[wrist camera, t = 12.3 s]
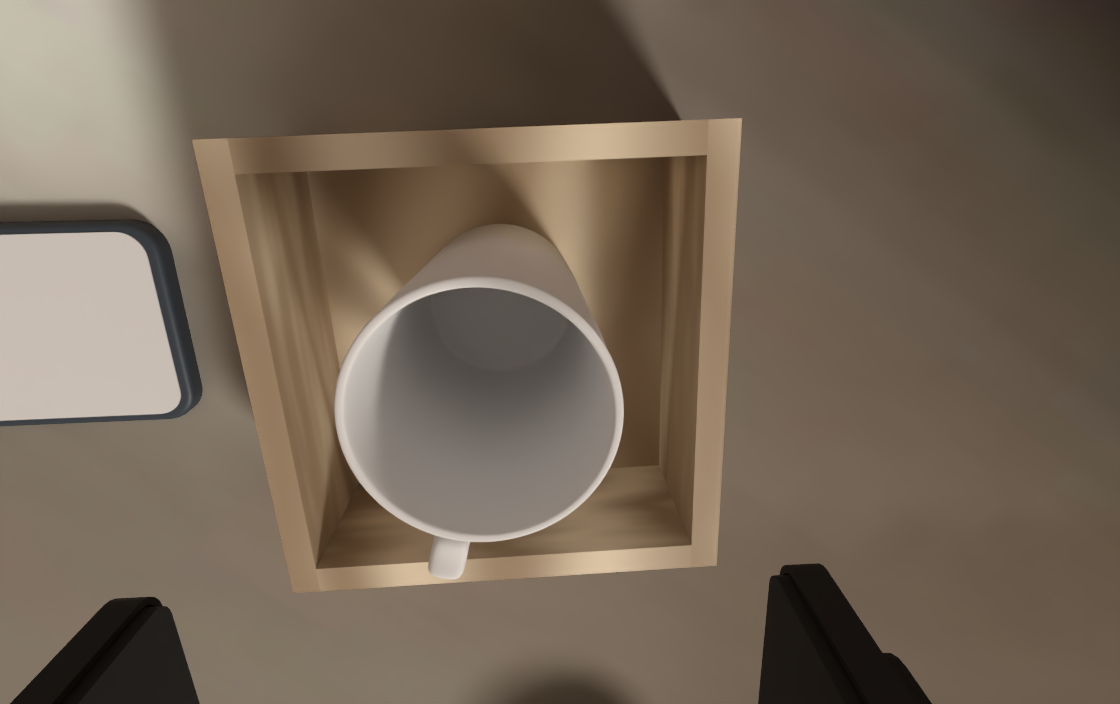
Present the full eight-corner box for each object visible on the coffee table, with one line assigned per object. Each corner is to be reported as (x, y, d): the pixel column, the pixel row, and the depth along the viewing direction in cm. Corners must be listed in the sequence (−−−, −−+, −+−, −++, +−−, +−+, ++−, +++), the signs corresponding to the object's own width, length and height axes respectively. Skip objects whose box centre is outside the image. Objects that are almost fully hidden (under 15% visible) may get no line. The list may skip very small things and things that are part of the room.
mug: (438, 196, 24) (357, 242, 13) (600, 238, 25) (661, 316, 13) (395, 421, 27) (299, 620, 16) (541, 451, 28) (550, 661, 16)
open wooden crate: (684, 125, 24) (741, 118, 18) (674, 471, 30) (716, 565, 23) (284, 140, 24) (191, 139, 17) (346, 491, 29) (293, 592, 23)
